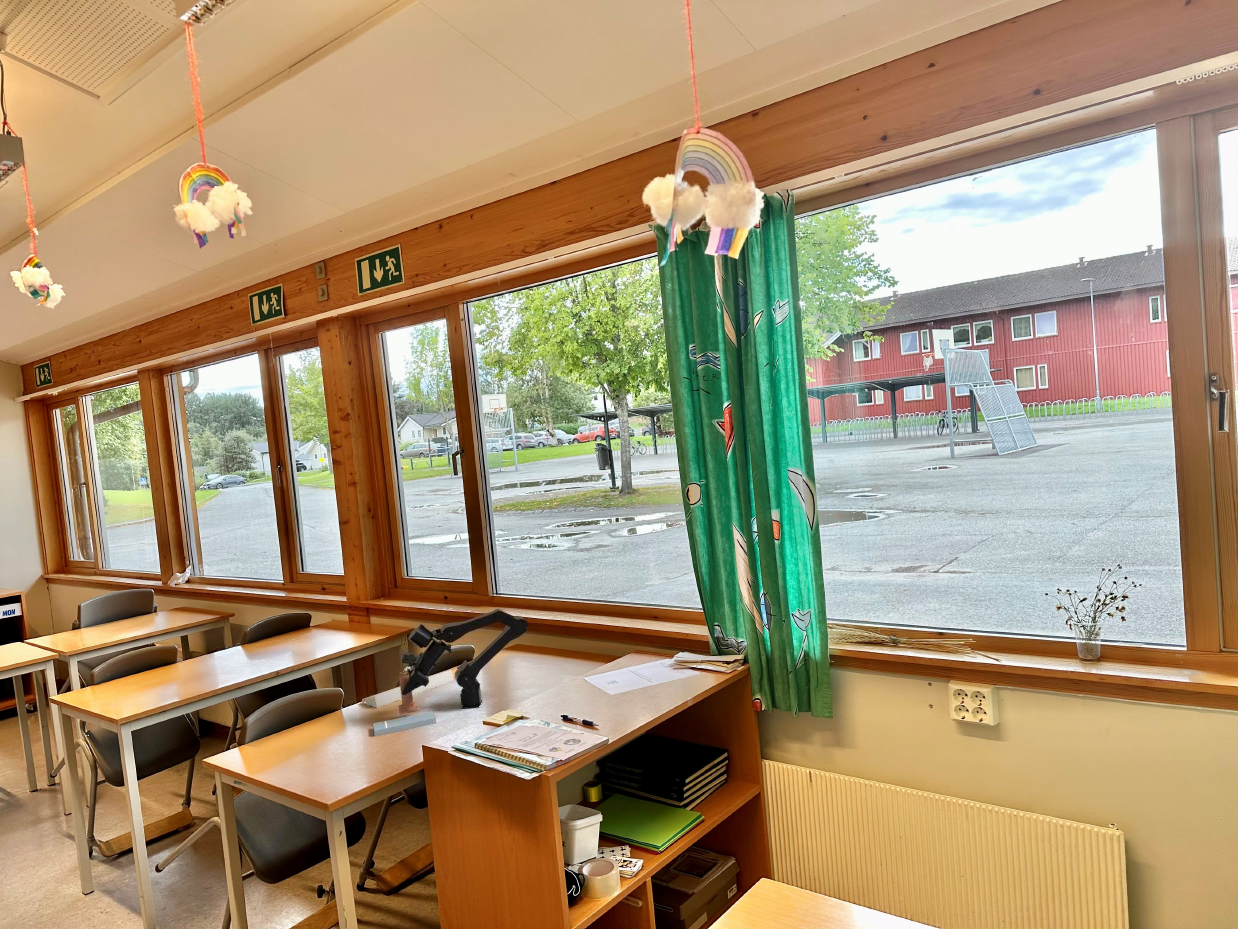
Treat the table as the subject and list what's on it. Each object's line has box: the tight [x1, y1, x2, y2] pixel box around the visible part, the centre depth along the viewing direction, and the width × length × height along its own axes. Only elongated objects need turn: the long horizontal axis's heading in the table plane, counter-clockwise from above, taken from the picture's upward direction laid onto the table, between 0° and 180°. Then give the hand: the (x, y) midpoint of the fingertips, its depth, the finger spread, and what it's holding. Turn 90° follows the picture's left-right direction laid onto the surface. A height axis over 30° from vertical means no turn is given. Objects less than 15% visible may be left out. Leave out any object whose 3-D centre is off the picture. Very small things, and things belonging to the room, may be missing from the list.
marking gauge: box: [398, 670, 419, 716], centre depth 267 cm, size 6×5×14 cm
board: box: [372, 710, 437, 737], centre depth 260 cm, size 20×8×2 cm, turn 110°
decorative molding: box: [361, 669, 455, 709], centre depth 299 cm, size 34×5×10 cm
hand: (402, 693), depth 267 cm, fingers closed on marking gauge, 3 cm apart
